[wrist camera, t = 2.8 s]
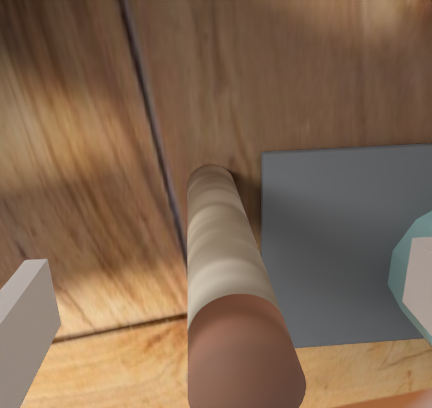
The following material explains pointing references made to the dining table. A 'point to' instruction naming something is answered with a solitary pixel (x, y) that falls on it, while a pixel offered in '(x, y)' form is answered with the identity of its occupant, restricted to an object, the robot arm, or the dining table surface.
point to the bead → (421, 227)
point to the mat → (341, 237)
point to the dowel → (233, 307)
